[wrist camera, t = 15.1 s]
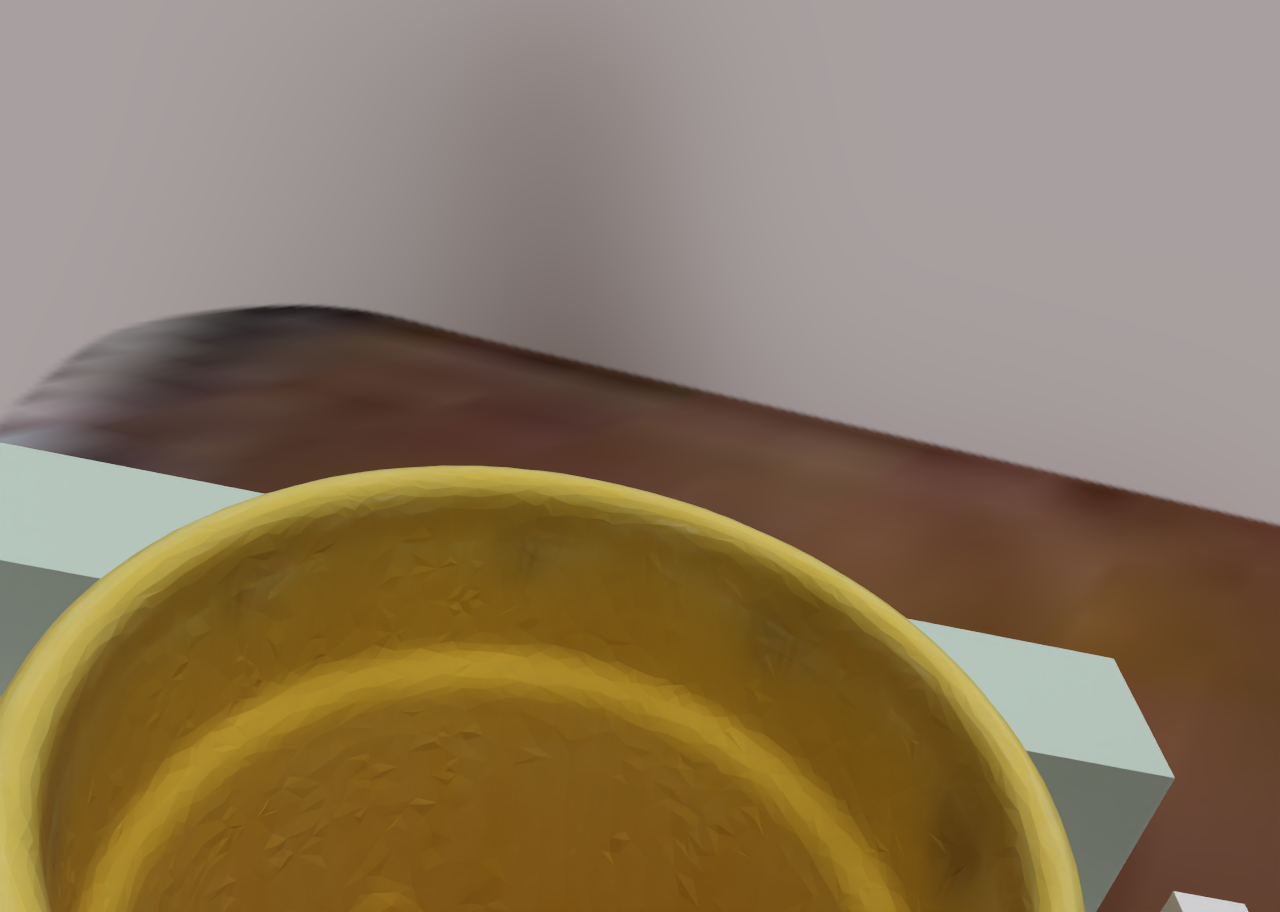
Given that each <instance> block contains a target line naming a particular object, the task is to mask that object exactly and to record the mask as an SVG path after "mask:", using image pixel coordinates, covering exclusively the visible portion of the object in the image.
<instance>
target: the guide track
mask: <svg viewBox="0 0 1280 912" xmlns="http://www.w3.org/2000/svg"><path fill="white" fill-rule="evenodd" d="M260 495H263V493H257V492H252V491H247V490H242V489H237V488H232V487H227V486H221V485H216V484H211V483H206V482H201V481H196V480H191V479H185V478H180V477H175V476H170V475H165V474H160V473H154V472H149V471H144V470H139V469H134V468H129V467H124V466H118V465H113V464H108V463H103V462H98V461H93V460H88V459H82V458H77V457H72V456H67V455H62V454H57V453H52V452H46V451H41V450H36V449H31V448H26V447H21V446H15V445H10V444H5V443H0V697H1V696H2V694H3V693H4V691H5V690H6V688H7V687H8V685H9V684H10V682H11V681H12V679H13V678H14V676H15V674H16V673H17V671H18V670H19V668H20V666H21V665H22V663H23V662H24V660H25V658H26V657H27V655H28V654H29V653H30V652H31V650H32V649H33V648H34V646H35V645H36V644H37V643H38V641H39V640H40V639H41V637H42V636H43V635H44V634H45V632H46V631H47V630H48V629H49V628H50V626H51V625H52V624H53V623H54V622H55V621H56V620H57V618H58V617H59V616H60V615H61V614H62V613H63V612H64V611H65V610H66V609H67V608H68V607H69V606H70V605H71V604H72V603H73V602H74V601H76V600H77V599H78V598H79V597H80V596H81V595H82V594H83V593H84V592H85V591H86V590H88V589H89V588H90V587H91V586H92V585H93V584H94V583H95V582H97V581H98V580H99V579H101V578H102V577H104V576H105V575H106V574H108V573H109V572H110V571H112V570H113V569H115V568H116V567H117V566H119V565H120V564H121V563H123V562H124V561H126V560H127V559H128V558H130V557H131V556H132V555H134V554H135V553H137V552H139V551H140V550H142V549H144V548H145V547H147V546H149V545H150V544H152V543H154V542H155V541H157V540H159V539H161V538H162V537H164V536H166V535H167V534H169V533H171V532H172V531H174V530H176V529H179V528H181V527H183V526H185V525H188V524H190V523H192V522H194V521H196V520H199V519H201V518H203V517H205V516H208V515H210V514H212V513H214V512H216V511H219V510H221V509H223V508H226V507H229V506H232V505H234V504H237V503H240V502H243V501H246V500H249V499H252V498H255V497H257V496H260ZM908 620H909V621H910V622H912V623H913V624H914V625H915V626H916V627H918V628H919V629H920V630H921V631H923V632H924V633H925V634H926V635H927V636H928V637H929V638H930V639H932V640H933V641H934V642H935V643H936V644H937V645H938V646H939V647H940V648H941V649H942V650H943V651H944V652H945V653H946V654H947V655H948V656H949V657H950V658H952V659H953V660H954V661H955V662H956V663H957V664H958V665H959V666H960V667H961V669H962V670H963V671H964V672H965V673H966V674H967V675H968V676H969V677H970V678H971V679H972V680H973V681H974V683H975V684H976V685H977V686H978V687H979V688H980V689H981V691H982V692H983V693H984V694H985V696H986V697H987V698H988V699H989V701H990V702H991V703H992V704H993V706H994V707H995V708H996V709H997V711H998V712H999V713H1000V714H1001V715H1002V717H1003V718H1004V719H1005V721H1006V722H1007V723H1008V725H1009V726H1010V728H1011V729H1012V730H1013V732H1014V733H1015V735H1016V736H1017V737H1018V739H1019V740H1020V742H1021V743H1022V745H1023V747H1024V748H1025V750H1026V752H1027V753H1028V755H1029V757H1030V758H1031V760H1032V762H1033V763H1034V765H1035V767H1036V768H1037V770H1038V772H1039V774H1040V775H1041V777H1042V779H1043V781H1044V783H1045V785H1046V787H1047V789H1048V791H1049V793H1050V795H1051V798H1052V800H1053V802H1054V804H1055V807H1056V809H1057V811H1058V813H1059V816H1060V818H1061V821H1062V824H1063V826H1064V829H1065V832H1066V835H1067V837H1068V840H1069V843H1070V847H1071V850H1072V853H1073V856H1074V859H1075V863H1076V866H1077V870H1078V875H1079V880H1080V885H1081V890H1082V895H1083V900H1084V905H1085V912H1096V911H1097V909H1098V908H1099V906H1100V904H1101V903H1102V901H1103V899H1104V897H1105V896H1106V894H1107V892H1108V891H1109V889H1110V887H1111V886H1112V884H1113V882H1114V880H1115V879H1116V877H1117V875H1118V874H1119V872H1120V870H1121V869H1122V867H1123V865H1124V864H1125V862H1126V860H1127V858H1128V857H1129V855H1130V853H1131V852H1132V850H1133V848H1134V847H1135V845H1136V843H1137V841H1138V840H1139V838H1140V836H1141V835H1142V833H1143V831H1144V830H1145V828H1146V826H1147V825H1148V823H1149V821H1150V819H1151V818H1152V816H1153V814H1154V813H1155V811H1156V809H1157V808H1158V806H1159V804H1160V802H1161V801H1162V799H1163V797H1164V796H1165V794H1166V792H1167V791H1168V789H1169V787H1170V786H1171V784H1172V782H1173V780H1174V779H1175V777H1174V775H1173V774H1172V772H1171V770H1170V768H1169V766H1168V764H1167V762H1166V760H1165V758H1164V756H1163V754H1162V752H1161V750H1160V748H1159V746H1158V744H1157V742H1156V740H1155V738H1154V737H1153V735H1152V733H1151V731H1150V729H1149V727H1148V725H1147V723H1146V721H1145V719H1144V717H1143V715H1142V713H1141V711H1140V709H1139V707H1138V705H1137V703H1136V701H1135V699H1134V698H1133V696H1132V694H1131V692H1130V690H1129V688H1128V686H1127V684H1126V682H1125V680H1124V678H1123V676H1122V674H1121V672H1120V670H1119V668H1118V666H1117V664H1116V662H1115V660H1114V659H1112V658H1107V657H1102V656H1097V655H1092V654H1086V653H1081V652H1076V651H1071V650H1066V649H1061V648H1056V647H1050V646H1045V645H1040V644H1035V643H1030V642H1025V641H1020V640H1014V639H1009V638H1004V637H999V636H994V635H989V634H983V633H978V632H973V631H968V630H963V629H958V628H953V627H947V626H942V625H937V624H932V623H927V622H922V621H917V620H911V619H908Z"/></svg>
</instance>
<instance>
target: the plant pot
mask: <svg viewBox="0 0 1280 912" xmlns="http://www.w3.org/2000/svg"><path fill="white" fill-rule="evenodd" d="M0 912H1085V905H1084V900H1083V895H1082V890H1081V885H1080V880H1079V875H1078V870H1077V866H1076V863H1075V859H1074V856H1073V853H1072V850H1071V847H1070V843H1069V840H1068V837H1067V835H1066V832H1065V829H1064V826H1063V824H1062V821H1061V818H1060V816H1059V813H1058V811H1057V809H1056V807H1055V804H1054V802H1053V800H1052V798H1051V795H1050V793H1049V791H1048V789H1047V787H1046V785H1045V783H1044V781H1043V779H1042V777H1041V775H1040V774H1039V772H1038V770H1037V768H1036V767H1035V765H1034V763H1033V762H1032V760H1031V758H1030V757H1029V755H1028V753H1027V752H1026V750H1025V748H1024V747H1023V745H1022V743H1021V742H1020V740H1019V739H1018V737H1017V736H1016V735H1015V733H1014V732H1013V730H1012V729H1011V728H1010V726H1009V725H1008V723H1007V722H1006V721H1005V719H1004V718H1003V717H1002V715H1001V714H1000V713H999V712H998V711H997V709H996V708H995V707H994V706H993V704H992V703H991V702H990V701H989V699H988V698H987V697H986V696H985V694H984V693H983V692H982V691H981V689H980V688H979V687H978V686H977V685H976V684H975V683H974V681H973V680H972V679H971V678H970V677H969V676H968V675H967V674H966V673H965V672H964V671H963V670H962V669H961V667H960V666H959V665H958V664H957V663H956V662H955V661H954V660H953V659H952V658H950V657H949V656H948V655H947V654H946V653H945V652H944V651H943V650H942V649H941V648H940V647H939V646H938V645H937V644H936V643H935V642H934V641H933V640H932V639H930V638H929V637H928V636H927V635H926V634H925V633H924V632H923V631H921V630H920V629H919V628H918V627H916V626H915V625H914V624H913V623H912V622H910V621H909V620H908V619H907V618H905V617H904V616H903V615H901V614H900V613H899V612H897V611H896V610H895V609H893V608H892V607H891V606H889V605H888V604H887V603H885V602H884V601H883V600H881V599H880V598H878V597H877V596H875V595H874V594H873V593H871V592H870V591H868V590H867V589H865V588H864V587H862V586H860V585H859V584H857V583H856V582H854V581H853V580H851V579H849V578H848V577H846V576H844V575H843V574H841V573H839V572H838V571H836V570H834V569H833V568H831V567H829V566H828V565H826V564H824V563H822V562H821V561H819V560H817V559H815V558H814V557H812V556H810V555H808V554H806V553H804V552H802V551H800V550H799V549H797V548H795V547H793V546H791V545H789V544H786V543H784V542H782V541H780V540H778V539H776V538H774V537H771V536H769V535H767V534H764V533H762V532H760V531H758V530H755V529H753V528H751V527H748V526H746V525H744V524H742V523H739V522H737V521H735V520H733V519H730V518H728V517H725V516H722V515H719V514H716V513H714V512H711V511H709V510H707V509H704V508H701V507H698V506H694V505H691V504H688V503H685V502H681V501H678V500H675V499H671V498H668V497H664V496H661V495H657V494H654V493H650V492H646V491H642V490H638V489H634V488H630V487H626V486H622V485H618V484H614V483H609V482H604V481H599V480H594V479H588V478H583V477H578V476H573V475H567V474H562V473H554V472H546V471H536V470H523V469H515V468H507V467H487V466H430V467H413V468H397V469H385V470H376V471H368V472H360V473H354V474H348V475H342V476H335V477H330V478H325V479H321V480H317V481H313V482H309V483H305V484H301V485H297V486H293V487H289V488H286V489H282V490H278V491H275V492H271V493H267V494H263V495H260V496H257V497H255V498H252V499H249V500H246V501H243V502H240V503H237V504H234V505H232V506H229V507H226V508H223V509H221V510H219V511H216V512H214V513H212V514H210V515H208V516H205V517H203V518H201V519H199V520H196V521H194V522H192V523H190V524H188V525H185V526H183V527H181V528H179V529H176V530H174V531H172V532H171V533H169V534H167V535H166V536H164V537H162V538H161V539H159V540H157V541H155V542H154V543H152V544H150V545H149V546H147V547H145V548H144V549H142V550H140V551H139V552H137V553H135V554H134V555H132V556H131V557H130V558H128V559H127V560H126V561H124V562H123V563H121V564H120V565H119V566H117V567H116V568H115V569H113V570H112V571H110V572H109V573H108V574H106V575H105V576H104V577H102V578H101V579H99V580H98V581H97V582H95V583H94V584H93V585H92V586H91V587H90V588H89V589H88V590H86V591H85V592H84V593H83V594H82V595H81V596H80V597H79V598H78V599H77V600H76V601H74V602H73V603H72V604H71V605H70V606H69V607H68V608H67V609H66V610H65V611H64V612H63V613H62V614H61V615H60V616H59V617H58V618H57V620H56V621H55V622H54V623H53V624H52V625H51V626H50V628H49V629H48V630H47V631H46V632H45V634H44V635H43V636H42V637H41V639H40V640H39V641H38V643H37V644H36V645H35V646H34V648H33V649H32V650H31V652H30V653H29V654H28V655H27V657H26V658H25V660H24V662H23V663H22V665H21V666H20V668H19V670H18V671H17V673H16V674H15V676H14V678H13V679H12V681H11V682H10V684H9V685H8V687H7V688H6V690H5V691H4V693H3V694H2V696H1V697H0Z"/></svg>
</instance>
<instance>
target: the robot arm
mask: <svg viewBox="0 0 1280 912" xmlns="http://www.w3.org/2000/svg"><path fill="white" fill-rule="evenodd" d="M1161 912H1248V910H1247V908H1246V906H1245V904H1241V903H1235V902H1230V901H1224V900H1219V899H1214V898H1208V897H1203V896H1197V895H1192V894H1186V893H1181V892H1175V891H1173V893H1172V894H1171V896H1170V898H1169V899H1168V901H1167V902H1166V904H1165V905H1164V907H1163V909H1162V910H1161Z"/></svg>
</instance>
